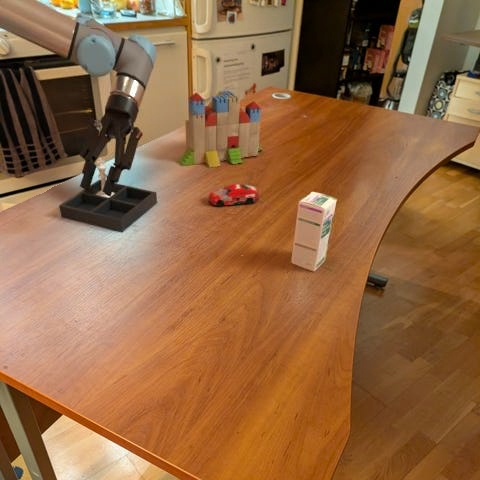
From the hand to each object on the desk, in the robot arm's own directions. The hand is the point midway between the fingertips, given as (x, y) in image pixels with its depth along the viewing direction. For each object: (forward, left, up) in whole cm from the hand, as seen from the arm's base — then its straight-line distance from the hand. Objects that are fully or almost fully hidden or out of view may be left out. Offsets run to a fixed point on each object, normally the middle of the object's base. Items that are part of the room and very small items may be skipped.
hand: (95, 191), depth 111 cm
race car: (+29, +18, -4) cm, 34 cm away
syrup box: (+54, -2, -4) cm, 54 cm away
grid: (+4, 0, -4) cm, 6 cm away
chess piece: (0, +4, -3) cm, 5 cm away
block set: (+15, +45, -4) cm, 47 cm away
